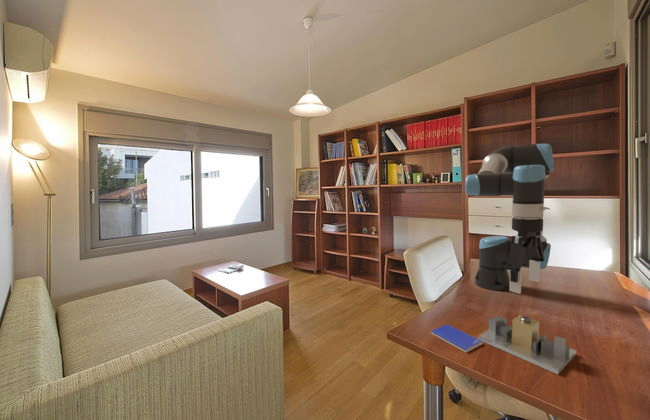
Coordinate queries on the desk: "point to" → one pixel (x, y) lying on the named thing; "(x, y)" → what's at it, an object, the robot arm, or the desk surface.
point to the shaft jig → (542, 354)
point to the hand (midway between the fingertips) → (525, 286)
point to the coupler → (525, 331)
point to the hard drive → (457, 338)
